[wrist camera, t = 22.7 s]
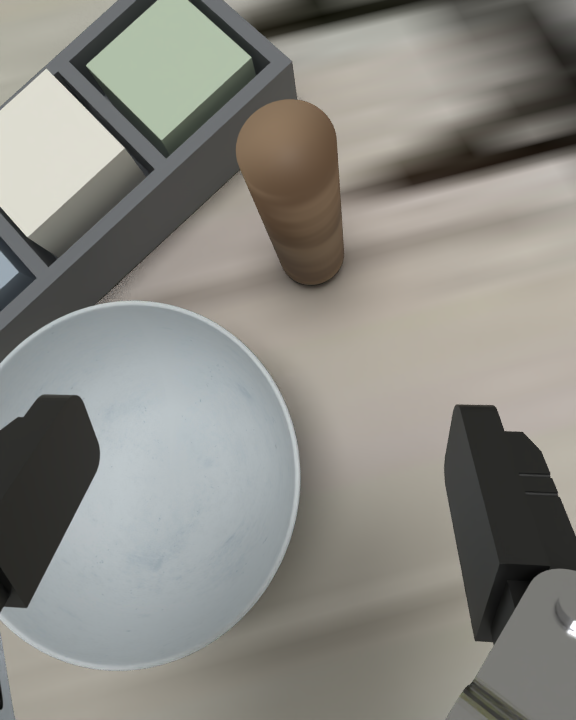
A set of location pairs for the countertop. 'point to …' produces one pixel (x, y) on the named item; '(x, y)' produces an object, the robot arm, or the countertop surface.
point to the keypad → (163, 176)
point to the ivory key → (59, 165)
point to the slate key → (12, 275)
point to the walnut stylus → (295, 186)
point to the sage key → (171, 72)
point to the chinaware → (157, 484)
